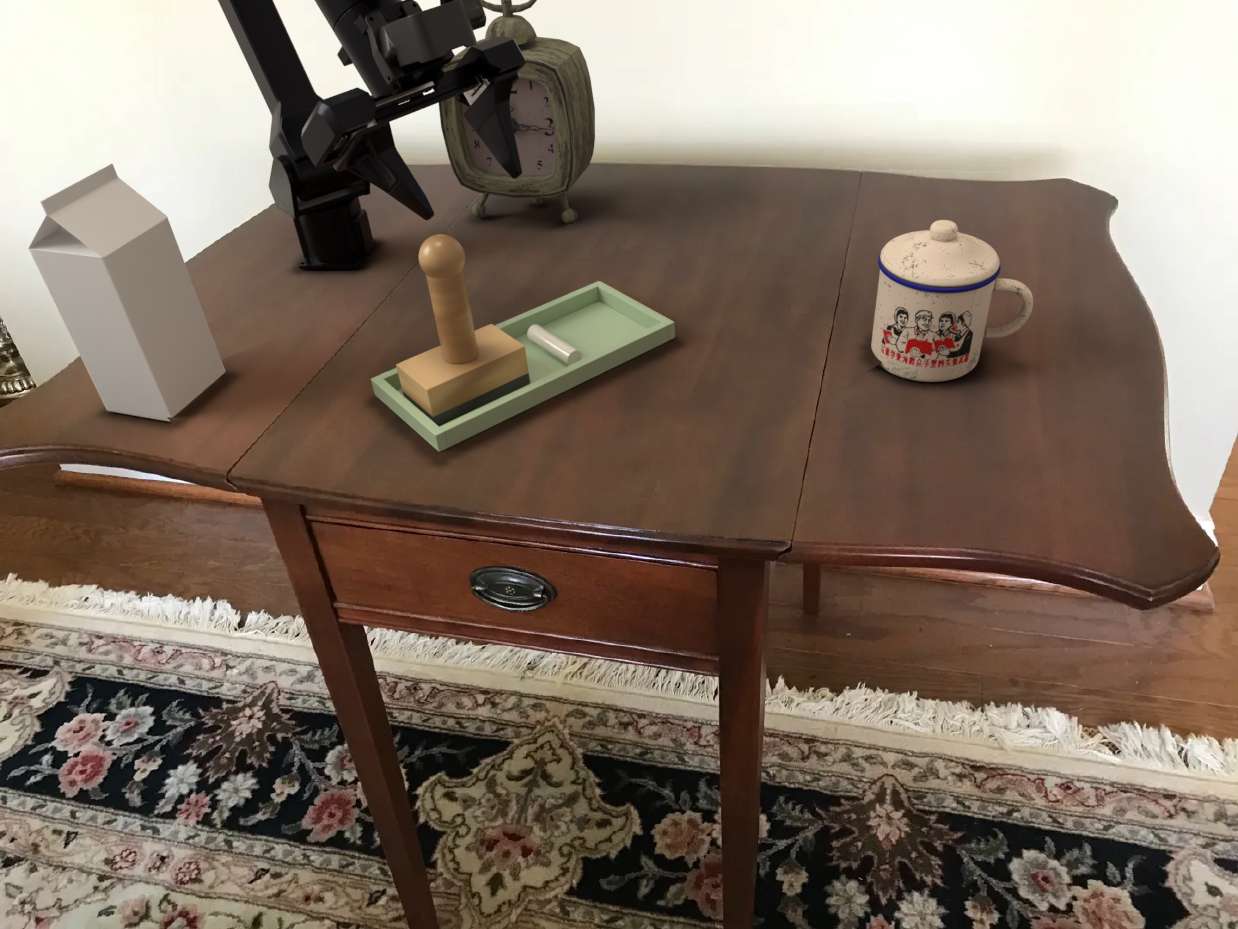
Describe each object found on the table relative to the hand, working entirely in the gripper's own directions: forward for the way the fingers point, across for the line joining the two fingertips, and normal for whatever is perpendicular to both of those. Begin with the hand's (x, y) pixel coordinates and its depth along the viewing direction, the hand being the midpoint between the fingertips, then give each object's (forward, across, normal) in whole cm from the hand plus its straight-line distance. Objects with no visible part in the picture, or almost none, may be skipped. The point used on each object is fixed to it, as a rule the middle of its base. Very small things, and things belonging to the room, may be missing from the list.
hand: (475, 196), depth 76 cm
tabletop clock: (0, +22, +24) cm, 33 cm away
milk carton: (0, -22, +23) cm, 32 cm away
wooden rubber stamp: (+13, -7, +5) cm, 16 cm away
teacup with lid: (+30, +21, -15) cm, 40 cm away
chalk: (+14, +2, +4) cm, 14 cm away
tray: (+14, -1, +5) cm, 15 cm away
